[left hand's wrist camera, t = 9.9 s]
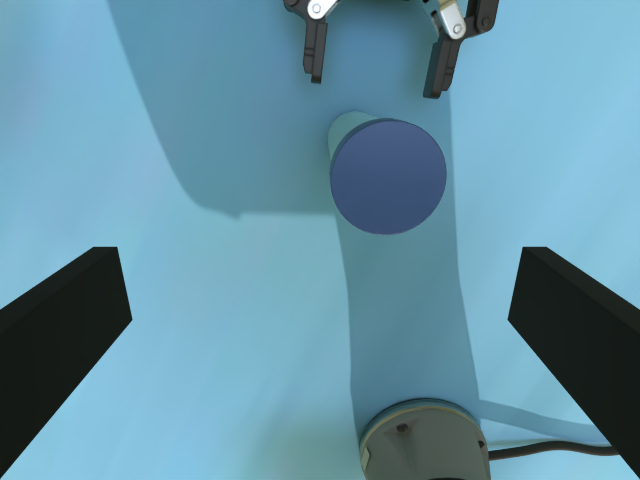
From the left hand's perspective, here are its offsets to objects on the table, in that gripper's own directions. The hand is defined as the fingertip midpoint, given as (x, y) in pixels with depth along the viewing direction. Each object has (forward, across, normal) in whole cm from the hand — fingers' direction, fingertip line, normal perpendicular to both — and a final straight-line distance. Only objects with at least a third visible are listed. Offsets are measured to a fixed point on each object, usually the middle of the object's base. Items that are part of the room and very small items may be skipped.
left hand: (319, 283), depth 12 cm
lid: (+6, +3, +2) cm, 7 cm away
